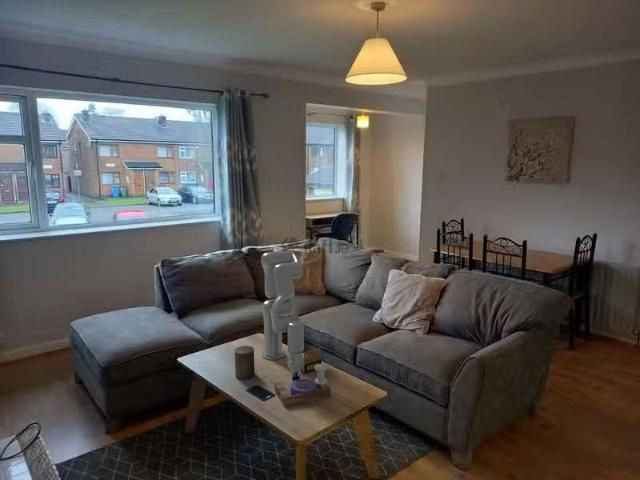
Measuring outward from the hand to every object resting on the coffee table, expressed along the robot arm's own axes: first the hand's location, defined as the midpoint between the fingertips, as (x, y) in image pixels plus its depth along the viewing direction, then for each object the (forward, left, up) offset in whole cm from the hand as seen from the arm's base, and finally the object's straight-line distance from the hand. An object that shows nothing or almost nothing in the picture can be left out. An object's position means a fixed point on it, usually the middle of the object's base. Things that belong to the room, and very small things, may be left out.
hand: (296, 383), depth 221 cm
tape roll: (+8, +1, -2) cm, 9 cm away
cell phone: (0, -17, -2) cm, 18 cm away
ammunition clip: (-12, +13, -2) cm, 18 cm away
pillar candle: (-20, -20, -2) cm, 28 cm away
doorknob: (+8, +10, +3) cm, 13 cm away
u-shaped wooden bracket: (+8, 0, -1) cm, 8 cm away
